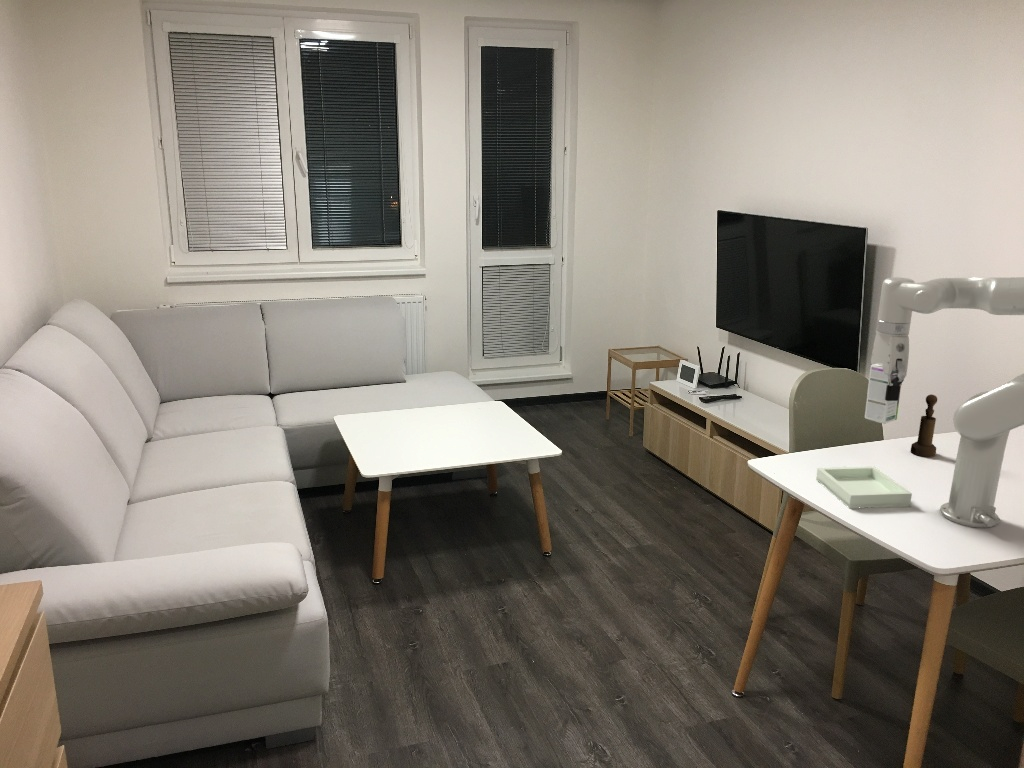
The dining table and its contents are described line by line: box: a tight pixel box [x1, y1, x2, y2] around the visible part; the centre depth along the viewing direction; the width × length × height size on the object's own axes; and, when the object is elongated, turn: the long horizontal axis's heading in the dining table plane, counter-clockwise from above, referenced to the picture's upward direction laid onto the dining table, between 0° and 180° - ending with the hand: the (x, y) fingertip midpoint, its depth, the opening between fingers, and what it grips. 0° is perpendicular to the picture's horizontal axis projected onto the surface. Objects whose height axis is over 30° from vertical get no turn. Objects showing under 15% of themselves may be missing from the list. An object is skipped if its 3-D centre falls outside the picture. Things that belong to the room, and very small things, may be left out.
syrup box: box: [864, 364, 902, 425], centre depth 209 cm, size 6×6×14 cm
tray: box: [815, 465, 913, 509], centre depth 213 cm, size 18×16×4 cm
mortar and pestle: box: [910, 394, 938, 458], centre depth 239 cm, size 7×6×18 cm
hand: (883, 395), depth 209 cm, fingers closed on syrup box, 7 cm apart
